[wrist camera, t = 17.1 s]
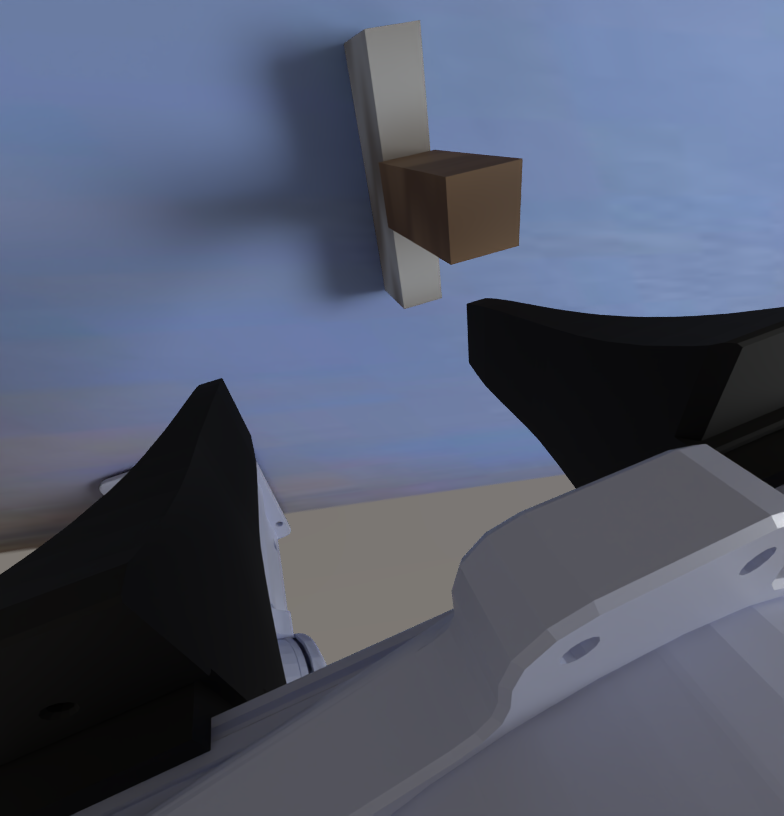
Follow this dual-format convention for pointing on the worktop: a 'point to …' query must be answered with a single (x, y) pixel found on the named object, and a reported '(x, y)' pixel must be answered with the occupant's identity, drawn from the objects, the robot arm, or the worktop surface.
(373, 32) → the scraper
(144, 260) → the worktop surface
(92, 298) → the worktop surface
